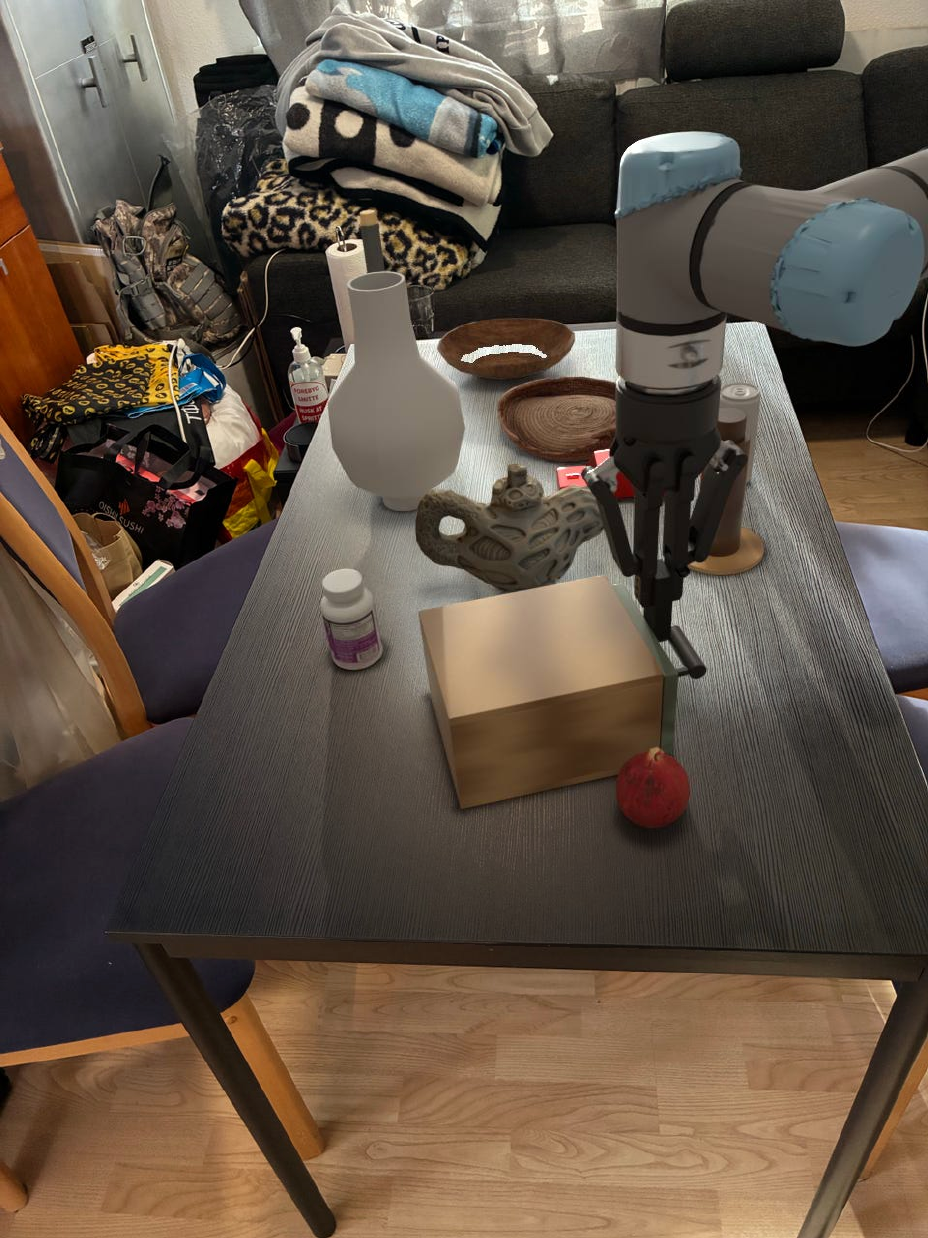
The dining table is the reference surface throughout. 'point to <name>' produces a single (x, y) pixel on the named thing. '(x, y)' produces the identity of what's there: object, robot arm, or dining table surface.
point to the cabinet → (540, 688)
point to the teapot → (510, 531)
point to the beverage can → (749, 402)
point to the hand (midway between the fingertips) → (656, 629)
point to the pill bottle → (350, 620)
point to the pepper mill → (731, 521)
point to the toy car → (573, 474)
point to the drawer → (665, 663)
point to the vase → (393, 401)
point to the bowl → (501, 332)
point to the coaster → (734, 557)
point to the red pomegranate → (652, 788)
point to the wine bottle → (371, 242)
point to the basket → (560, 417)
